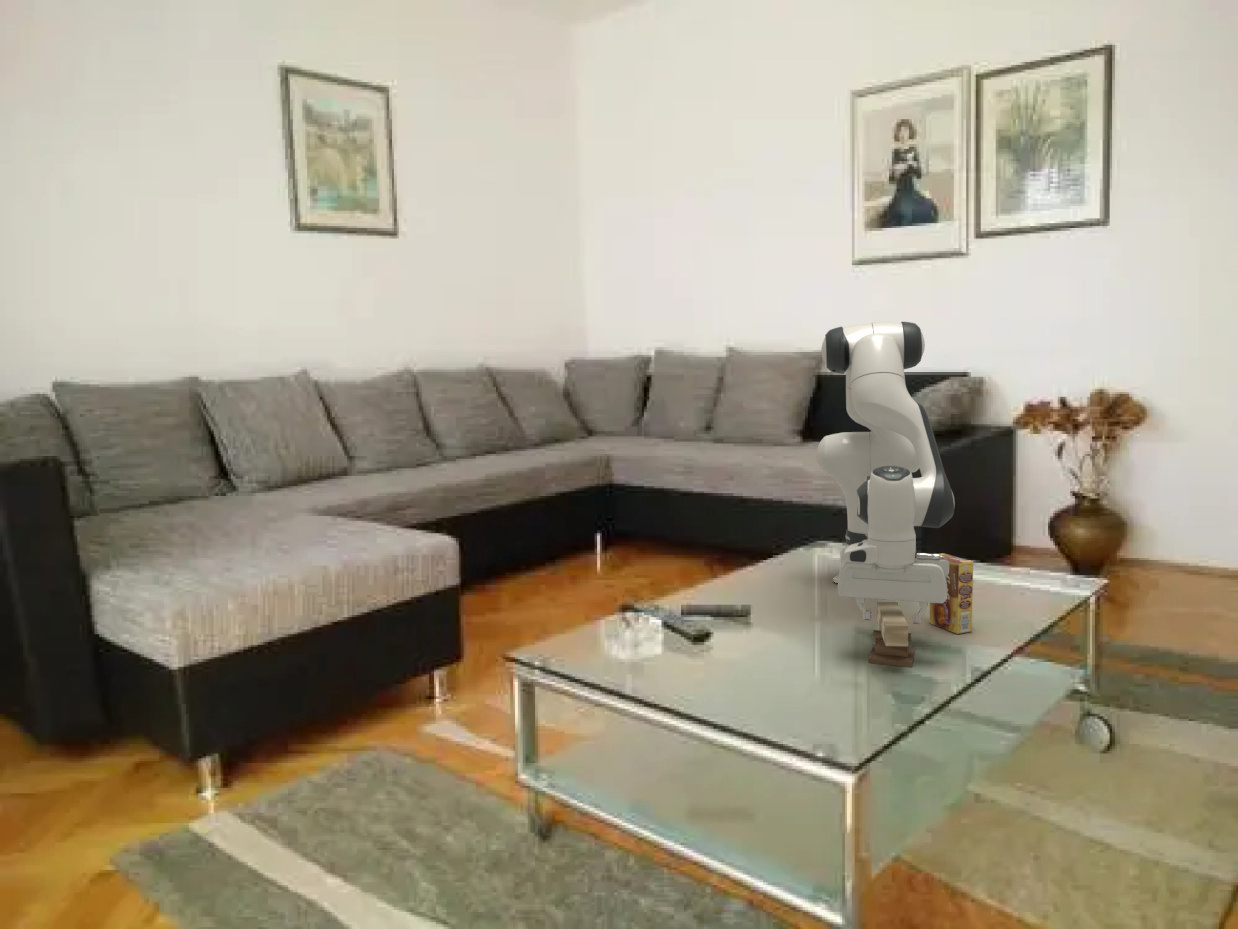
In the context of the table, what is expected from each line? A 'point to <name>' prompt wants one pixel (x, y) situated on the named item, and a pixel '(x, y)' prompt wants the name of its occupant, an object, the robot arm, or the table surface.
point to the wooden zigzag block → (892, 624)
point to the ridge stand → (890, 652)
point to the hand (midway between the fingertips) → (891, 621)
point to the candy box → (955, 598)
